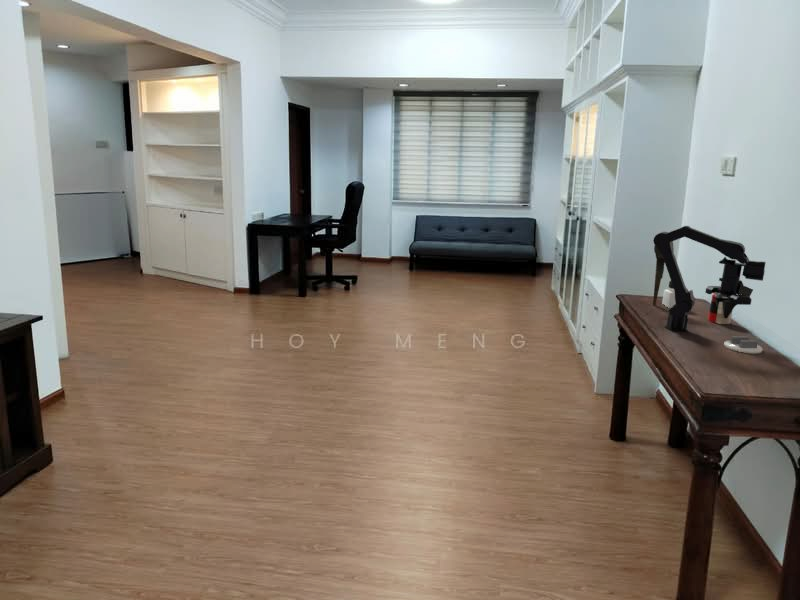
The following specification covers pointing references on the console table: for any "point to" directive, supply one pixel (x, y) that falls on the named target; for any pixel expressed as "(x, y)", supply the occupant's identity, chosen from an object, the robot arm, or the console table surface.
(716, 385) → the console table surface
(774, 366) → the console table surface
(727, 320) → the block
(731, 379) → the console table surface
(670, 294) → the medicine bottle
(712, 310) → the soda can
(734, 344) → the dish
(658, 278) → the decorative torch
